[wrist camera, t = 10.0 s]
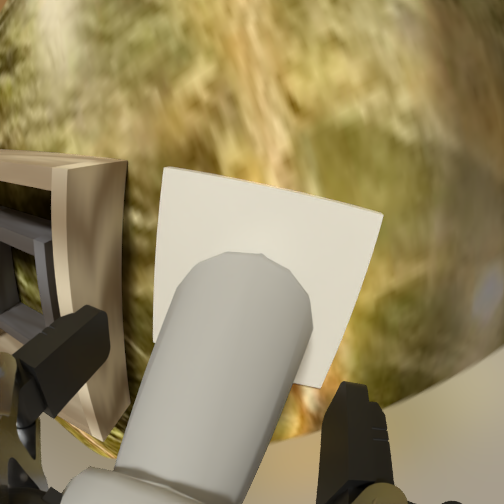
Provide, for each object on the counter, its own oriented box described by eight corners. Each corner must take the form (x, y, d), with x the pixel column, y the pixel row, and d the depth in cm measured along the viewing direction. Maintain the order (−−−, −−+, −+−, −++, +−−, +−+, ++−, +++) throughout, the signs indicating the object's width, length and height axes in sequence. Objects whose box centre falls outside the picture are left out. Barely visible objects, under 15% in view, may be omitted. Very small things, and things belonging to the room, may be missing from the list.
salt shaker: (335, 309, 14) (339, 616, 2) (242, 357, 16) (161, 591, 4) (262, 208, 13) (52, 564, 1) (170, 275, 15) (-12, 495, 3)
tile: (169, 166, 14) (164, 167, 13) (380, 212, 13) (383, 215, 12) (157, 336, 18) (153, 342, 17) (320, 381, 16) (320, 388, 16)
